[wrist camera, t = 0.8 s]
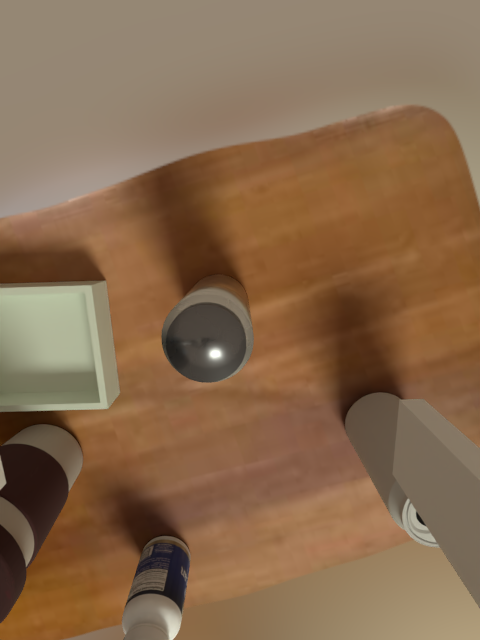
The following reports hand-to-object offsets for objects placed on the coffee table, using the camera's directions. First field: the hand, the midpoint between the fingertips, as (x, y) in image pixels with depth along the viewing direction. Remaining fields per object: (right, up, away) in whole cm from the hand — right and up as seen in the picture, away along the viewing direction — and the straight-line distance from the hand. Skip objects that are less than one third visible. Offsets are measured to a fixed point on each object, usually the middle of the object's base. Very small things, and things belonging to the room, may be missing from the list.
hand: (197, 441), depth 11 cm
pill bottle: (-7, -22, +27) cm, 35 cm away
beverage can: (+15, -6, +23) cm, 28 cm away
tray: (-16, +2, +21) cm, 27 cm away
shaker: (-1, +5, +20) cm, 21 cm away
